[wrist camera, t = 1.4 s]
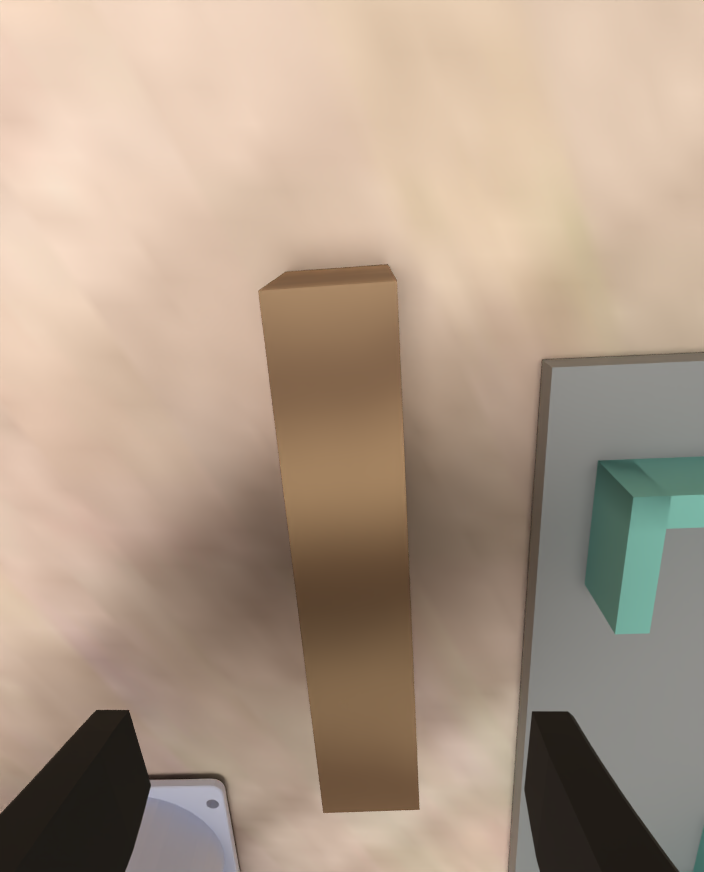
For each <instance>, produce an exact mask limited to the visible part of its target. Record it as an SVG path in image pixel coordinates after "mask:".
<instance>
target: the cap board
mask: <svg viewBox="0 0 704 872" xmlns="http://www.w3.org/2000/svg"><path fill="white" fill-rule="evenodd" d="M532 711H568V712H569V713H571V714H572V715H573V716H574V718H575V719H576V721H577V723H578V724H579V726H580V728H581V729H582V731H583V733H584V734H585V736H586V738H587V739H588V741H589V742H590V744H591V746H592V747H593V749H594V750H595V752H596V754H597V755H598V757H599V758H600V760H601V761H602V763H603V764H604V766H605V767H606V769H607V770H608V772H609V773H610V775H611V776H612V778H613V779H614V781H615V782H616V784H617V785H618V787H619V788H620V790H621V791H622V793H623V794H624V796H625V797H626V799H627V800H628V802H629V803H630V804H631V806H632V807H633V809H634V810H635V812H636V813H637V814H638V816H639V817H640V819H641V820H642V821H643V823H644V824H645V826H646V827H647V828H648V830H649V831H650V832H651V834H652V835H653V837H654V838H655V839H656V841H657V842H658V843H659V845H660V846H661V848H662V849H663V850H664V852H665V853H666V855H667V856H668V857H669V859H670V860H671V861H672V863H673V864H674V865H675V867H676V868H677V869H678V870H679V872H704V352H702V353H680V354H658V355H635V356H613V357H591V358H568V359H546V360H542V372H541V387H540V402H539V417H538V432H537V447H536V462H535V477H534V492H533V507H532V522H531V537H530V552H529V567H528V582H527V596H526V611H525V626H524V641H523V656H522V671H521V686H520V701H519V716H518V731H517V746H516V761H515V776H514V791H513V806H512V821H511V836H510V851H509V866H508V872H540V870H539V867H538V863H537V859H536V854H535V849H534V843H533V838H532V832H531V827H530V821H529V815H528V809H527V803H526V798H525V792H524V786H525V776H526V766H527V756H528V746H529V736H530V726H531V716H532Z"/></svg>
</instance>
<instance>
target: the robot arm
mask: <svg viewBox="0 0 704 872" xmlns="http://www.w3.org/2000/svg"><path fill="white" fill-rule="evenodd" d="M524 792H525V798H526V803H527V809H528V815H529V821H530V827H531V832H532V838H533V843H534V849H535V854H536V859H537V863H538V867H539V870H540V872H679V870H678V869H677V868H676V867H675V865H674V864H673V863H672V861H671V860H670V859H669V857H668V856H667V855H666V853H665V852H664V850H663V849H662V848H661V846H660V845H659V843H658V842H657V841H656V839H655V838H654V837H653V835H652V834H651V832H650V831H649V830H648V828H647V827H646V826H645V824H644V823H643V821H642V820H641V819H640V817H639V816H638V814H637V813H636V812H635V810H634V809H633V807H632V806H631V804H630V803H629V802H628V800H627V799H626V797H625V796H624V794H623V793H622V791H621V790H620V788H619V787H618V785H617V784H616V782H615V781H614V779H613V778H612V776H611V775H610V773H609V772H608V770H607V769H606V767H605V766H604V764H603V763H602V761H601V760H600V758H599V757H598V755H597V754H596V752H595V750H594V749H593V747H592V746H591V744H590V742H589V741H588V739H587V738H586V736H585V734H584V733H583V731H582V729H581V728H580V726H579V724H578V723H577V721H576V719H575V718H574V716H573V715H572V714H571V713H569V712H568V711H532V716H531V726H530V736H529V746H528V756H527V766H526V776H525V786H524ZM0 872H240V870H239V865H238V859H237V853H236V847H235V842H234V836H233V830H232V825H231V819H230V813H229V808H228V802H227V796H226V791H225V786H224V784H223V783H222V782H221V781H219V780H217V779H170V780H149V777H148V773H147V770H146V766H145V763H144V760H143V756H142V753H141V750H140V746H139V743H138V739H137V736H136V733H135V729H134V726H133V723H132V719H131V716H130V712H129V710H96V711H95V712H94V713H93V714H92V715H91V716H90V717H89V718H88V720H87V721H86V722H85V723H84V724H83V725H82V726H81V727H80V728H79V729H78V730H77V731H76V732H75V734H74V735H73V736H72V737H71V738H70V739H69V740H68V741H67V742H66V743H65V745H64V746H63V747H62V748H61V749H60V750H59V751H58V752H57V753H56V754H55V756H54V757H53V758H52V759H51V760H50V761H49V762H48V763H47V764H46V765H45V767H44V768H43V769H42V770H41V771H40V772H39V773H38V774H37V775H36V776H35V777H34V778H33V780H32V781H31V782H30V783H29V784H28V785H27V786H26V787H25V788H24V789H23V790H22V791H21V792H20V794H19V795H18V796H17V797H16V798H15V799H14V800H13V801H12V802H11V803H10V804H9V805H8V806H7V807H6V808H5V809H4V810H3V812H2V813H1V814H0Z"/></svg>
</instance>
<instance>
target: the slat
mask: <svg viewBox="0 0 704 872" xmlns="http://www.w3.org/2000/svg"><path fill="white" fill-rule="evenodd" d="M258 292H259V301H260V309H261V317H262V325H263V333H264V341H265V349H266V357H267V365H268V373H269V381H270V389H271V397H272V405H273V413H274V421H275V429H276V437H277V445H278V453H279V461H280V469H281V477H282V485H283V493H284V501H285V509H286V517H287V525H288V533H289V541H290V549H291V557H292V565H293V573H294V581H295V589H296V597H297V605H298V613H299V621H300V629H301V637H302V645H303V653H304V661H305V669H306V677H307V685H308V693H309V702H310V710H311V718H312V726H313V734H314V742H315V750H316V758H317V766H318V774H319V782H320V790H321V798H322V806H323V813H335V812H364V811H394V810H419V789H418V765H417V742H416V718H415V695H414V671H413V648H412V624H411V600H410V577H409V553H408V530H407V506H406V483H405V459H404V436H403V412H402V389H401V365H400V342H399V318H398V294H397V280H396V278H395V277H394V275H393V273H392V271H391V269H390V267H389V266H388V264H386V265H372V266H359V267H345V268H331V269H317V270H303V271H290V272H285V273H283V274H282V275H280V276H279V277H277V278H276V279H275V280H273V281H272V282H270V283H269V284H267V285H266V286H264V287H263V288H262V289H260V290H259V291H258Z"/></svg>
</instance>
